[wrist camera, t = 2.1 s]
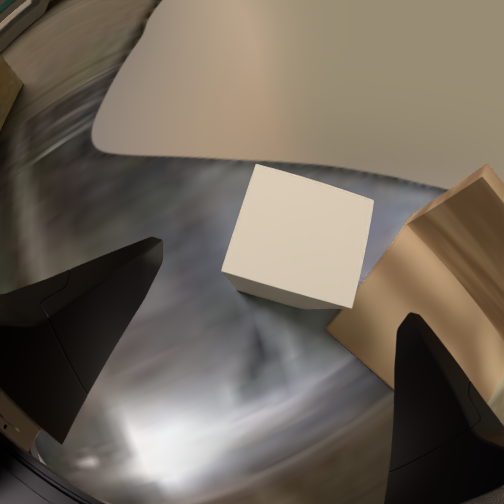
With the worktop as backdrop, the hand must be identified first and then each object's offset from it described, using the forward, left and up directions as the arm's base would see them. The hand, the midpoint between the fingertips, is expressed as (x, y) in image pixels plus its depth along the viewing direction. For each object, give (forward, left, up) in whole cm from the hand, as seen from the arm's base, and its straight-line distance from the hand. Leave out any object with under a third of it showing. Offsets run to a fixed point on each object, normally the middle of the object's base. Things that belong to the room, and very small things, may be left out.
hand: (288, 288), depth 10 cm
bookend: (+2, +1, -10) cm, 10 cm away
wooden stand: (+10, -14, -10) cm, 20 cm away
